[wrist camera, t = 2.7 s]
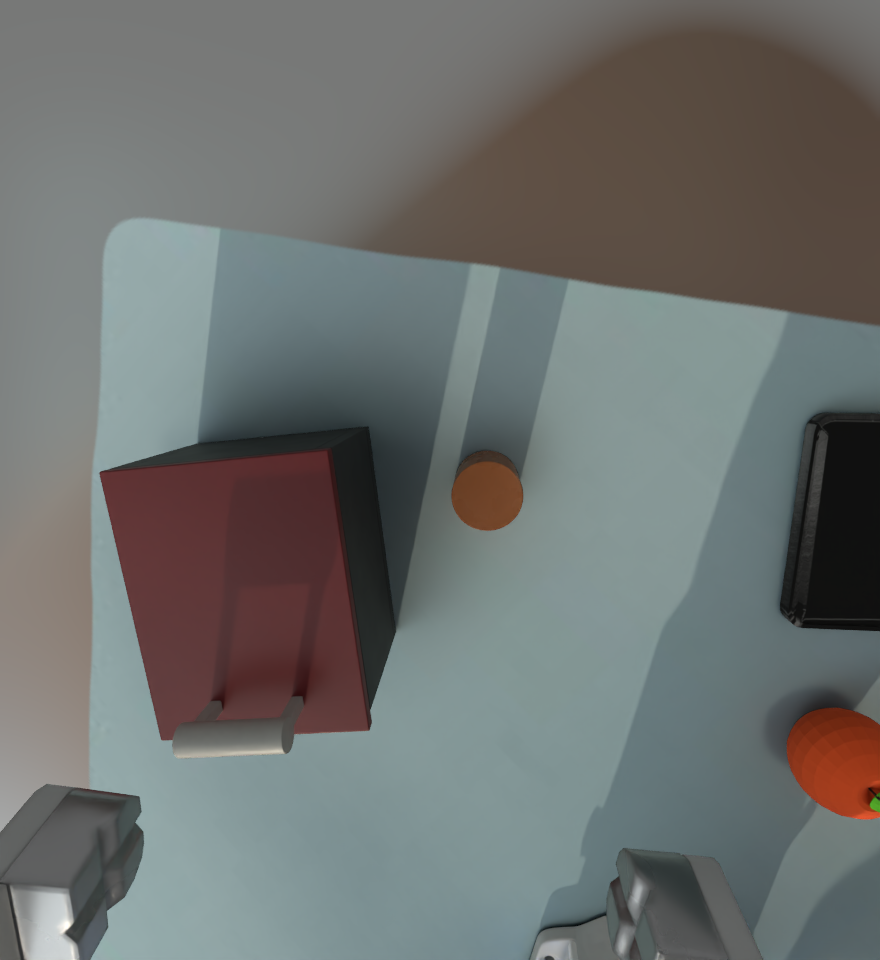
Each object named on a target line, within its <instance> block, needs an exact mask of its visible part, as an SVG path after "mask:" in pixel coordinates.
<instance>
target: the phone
mask: <svg viewBox="0 0 880 960" xmlns="http://www.w3.org/2000/svg"><path fill="white" fill-rule="evenodd" d="M780 610H781V613H782V615H783V616H784V617H785V618H786V619H788V620H789V621H790V622H791V623H792V624H793V625H795V626H797V627H801V628H818V629H841V630H865V631H880V414H875V413H821V414H818V415H816V416H814V417H813V418H812V419H811V420H810V421H809V422H808V424H807V426H806V430H805V436H804V443H803V450H802V457H801V464H800V471H799V478H798V485H797V492H796V499H795V506H794V513H793V520H792V527H791V534H790V541H789V547H788V554H787V561H786V568H785V575H784V582H783V589H782V596H781V603H780Z"/></svg>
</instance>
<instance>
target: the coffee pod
mask: <svg viewBox="0 0 880 960" xmlns="http://www.w3.org/2000/svg"><path fill="white" fill-rule="evenodd" d="M522 503H523V489H522V486H521V482H520V479H519V475H518V472H517V469H516V467H515V466H514V464H513V463H512V462H511V461H510V460H509V459H508V458H507V457H506V456H504V455H502V454H501V453H498V452H494V451H480V452H476V453H474V454H472V455H470V456H468V457H467V458H466V459H465V460H464V461H463V462H462V463H461V464H460V466H459V468H458V470H457V472H456V476H455V480H454V484H453V488H452V504H453V507H454V510H455V512H456V513H457V515H458V516H459V518H460V519H461V520H462V521H463V522H464V523H466V524H467V525H469V526H471V527H472V528H475V529H479V530H485V531H491V530H496V529H500V528H502V527H504V526H506V525H508V524H509V523H510V522H512V521H513V520H514V519H515V517H516V516H517V515H518V513H519V511H520V509H521V506H522Z"/></svg>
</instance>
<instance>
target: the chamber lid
mask: <svg viewBox="0 0 880 960" xmlns="http://www.w3.org/2000/svg"><path fill="white" fill-rule="evenodd" d="M99 474H100V478H101V482H102V486H103V491H104V495H105V499H106V504H107V508H108V512H109V517H110V521H111V525H112V530H113V534H114V538H115V542H116V547H117V551H118V555H119V560H120V564H121V568H122V573H123V577H124V581H125V586H126V590H127V594H128V599H129V603H130V607H131V611H132V616H133V620H134V624H135V629H136V633H137V637H138V642H139V646H140V650H141V655H142V659H143V663H144V668H145V672H146V676H147V680H148V685H149V689H150V693H151V698H152V702H153V706H154V711H155V715H156V719H157V724H158V728H159V732H160V736H161V740H173V744H172V746H173V753H174V755H175V756H176V757H177V758H202V757H225V756H247V755H270V754H287V753H289V751H290V750H291V748H292V744H293V739H294V734H311V733H332V732H353V731H369V730H370V727H371V723H372V720H371V714H370V707H369V700H368V693H367V686H366V680H365V673H364V666H363V659H362V653H361V646H360V639H359V632H358V625H357V619H356V612H355V605H354V598H353V592H352V585H351V578H350V571H349V564H348V558H347V551H346V544H345V537H344V530H343V524H342V517H341V510H340V503H339V497H338V490H337V483H336V476H335V469H334V463H333V456H332V449H331V448H323V449H313V450H303V451H293V452H282V453H272V454H262V455H251V456H241V457H231V458H221V459H210V460H200V461H190V462H180V463H169V464H159V465H149V466H139V467H128V468H118V469H108V470H105V471H101V472H100V473H99Z"/></svg>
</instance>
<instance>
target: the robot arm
mask: <svg viewBox="0 0 880 960" xmlns="http://www.w3.org/2000/svg"><path fill="white" fill-rule="evenodd" d="M141 812H142V811H141V804H140V797H139V796H133V795H126V794H119V793H112V792H104V791H97V790H90V789H83V788H75V787H66V786H59V785H50V784H46V785H45V786H43V787H41V788H40V789H38V790H37V791H36V792H34V793H33V795H32V796H31V797H30V798H29V799H28V800H27V802H26V803H25V804H24V805H23V806H22V808H21V809H20V810H19V811H18V812H17V813H16V815H15V816H14V817H13V818H12V820H10V822H9V823H8V824H7V825H6V826H5V828H4V829H3V830H2V831H1V832H0V960H90V959H91V957H92V955H93V954H94V952H95V950H96V948H97V946H98V945H99V943H100V941H101V939H102V937H103V936H104V934H105V932H106V930H107V928H108V919H107V910H109V909H110V908H111V907H112V906H114V905H115V904H116V903H118V902H119V901H120V900H122V899H123V898H124V897H125V896H126V894H127V892H128V890H129V888H130V886H131V884H132V882H133V881H134V879H135V876H136V873H137V870H138V867H139V864H140V862H141V859H142V853H143V846H144V835H143V831H142V830H141V828H140V827H139V826H138V825H137V824H136V823H135V822H136V820H137V818H138V817H139V815H140V813H141ZM616 866H617V870H618V874H619V877H617V878H616V879H615V880H613V881H612V882H611V883H610V886H609V890H608V894H607V909H606V916H603V917H600V918H597V919H595V920H592V921H590V922H588V923H585V924H582V925H579V926H575V927H557V928H549V929H546V930H543V931H542V932H541V933H540V934H539V935H538V937H537V939H536V942H535V945H534V948H533V951H532V954H531V957H530V960H763V958H762V956H761V954H760V951H759V949H758V947H757V945H756V943H755V941H754V938H753V936H752V934H751V932H750V930H749V928H748V925H747V923H746V921H745V919H744V917H743V914H742V912H741V910H740V908H739V906H738V904H737V901H736V899H735V897H734V895H733V893H732V891H731V888H730V886H729V884H728V882H727V880H726V877H725V875H724V873H723V871H722V869H721V867H720V864H719V863H718V862H717V861H716V860H715V859H714V858H711V857H702V856H693V855H681V854H680V853H671V852H660V851H650V850H639V849H628V848H623V849H622V850H621V851H620V852H619V855H618V858H617V861H616Z"/></svg>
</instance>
